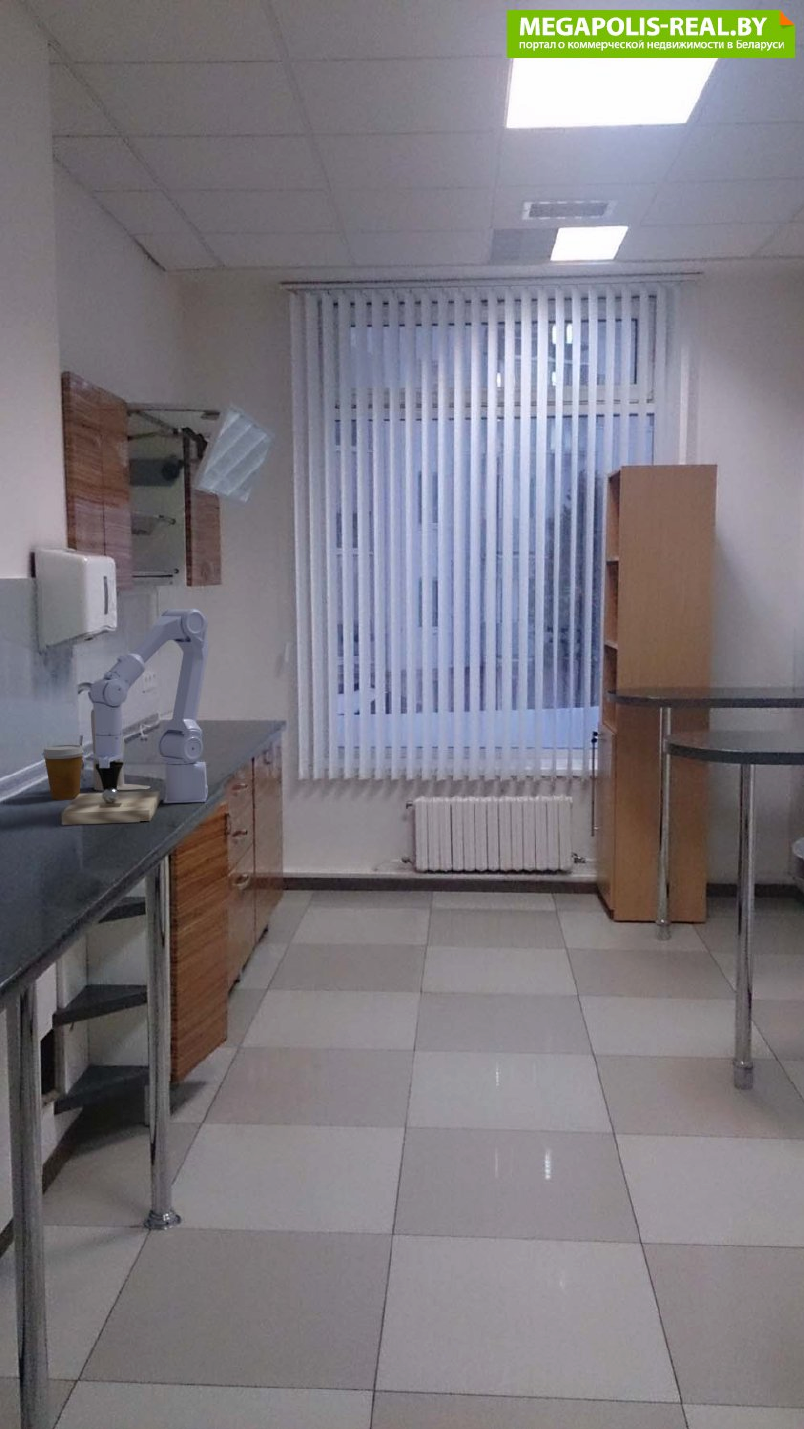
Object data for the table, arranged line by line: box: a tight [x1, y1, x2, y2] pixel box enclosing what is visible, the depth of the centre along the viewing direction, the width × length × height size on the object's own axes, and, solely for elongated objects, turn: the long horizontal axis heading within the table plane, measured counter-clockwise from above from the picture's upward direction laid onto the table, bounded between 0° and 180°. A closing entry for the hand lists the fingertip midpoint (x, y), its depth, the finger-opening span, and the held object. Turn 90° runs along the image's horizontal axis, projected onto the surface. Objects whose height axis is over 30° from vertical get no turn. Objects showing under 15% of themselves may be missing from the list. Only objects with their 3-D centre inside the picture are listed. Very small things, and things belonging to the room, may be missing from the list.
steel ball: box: [102, 788, 119, 804], centre depth 248 cm, size 4×4×4 cm
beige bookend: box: [90, 709, 151, 792], centre depth 279 cm, size 7×14×20 cm, turn 88°
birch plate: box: [61, 790, 161, 826], centre depth 250 cm, size 18×22×2 cm
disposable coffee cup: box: [41, 744, 85, 801], centre depth 269 cm, size 10×10×12 cm
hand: (110, 795), depth 249 cm, fingers closed, pressing on steel ball
